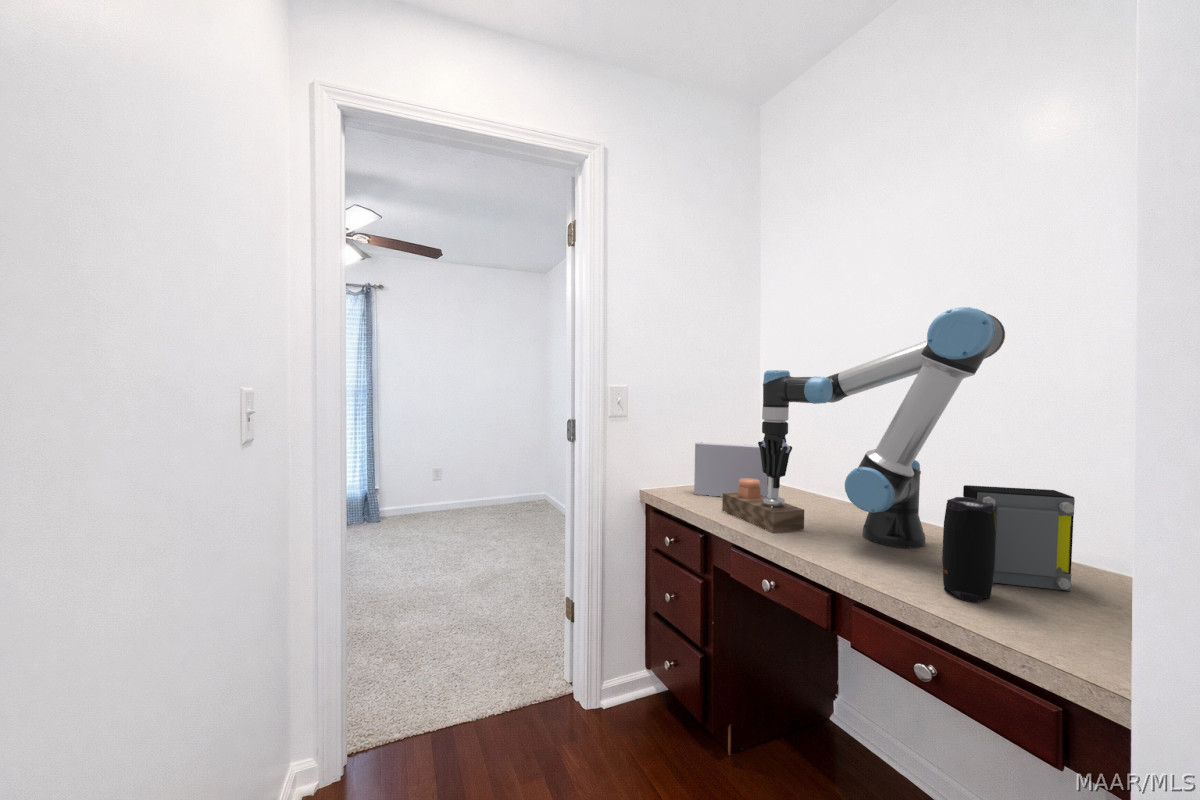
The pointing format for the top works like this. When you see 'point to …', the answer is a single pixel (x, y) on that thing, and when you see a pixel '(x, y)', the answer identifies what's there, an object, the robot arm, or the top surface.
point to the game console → (726, 468)
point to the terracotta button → (749, 488)
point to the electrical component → (1030, 535)
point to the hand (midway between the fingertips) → (773, 497)
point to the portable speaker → (968, 548)
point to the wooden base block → (764, 513)
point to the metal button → (773, 502)
